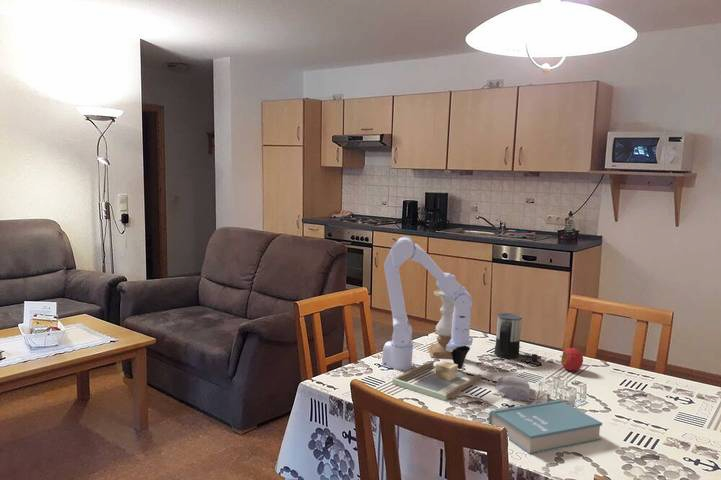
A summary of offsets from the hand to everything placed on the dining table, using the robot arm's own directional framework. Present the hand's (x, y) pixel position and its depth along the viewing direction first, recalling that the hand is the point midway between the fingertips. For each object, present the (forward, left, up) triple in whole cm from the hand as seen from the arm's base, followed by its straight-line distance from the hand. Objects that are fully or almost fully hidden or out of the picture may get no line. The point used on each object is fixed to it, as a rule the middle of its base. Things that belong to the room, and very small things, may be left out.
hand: (458, 367), depth 185 cm
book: (+37, -21, -3) cm, 42 cm away
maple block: (0, -8, -1) cm, 8 cm away
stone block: (+19, -1, -3) cm, 19 cm away
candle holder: (-12, +12, -3) cm, 17 cm away
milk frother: (+7, +31, -3) cm, 32 cm away
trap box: (0, -13, -2) cm, 13 cm away
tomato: (+26, +32, -3) cm, 41 cm away
